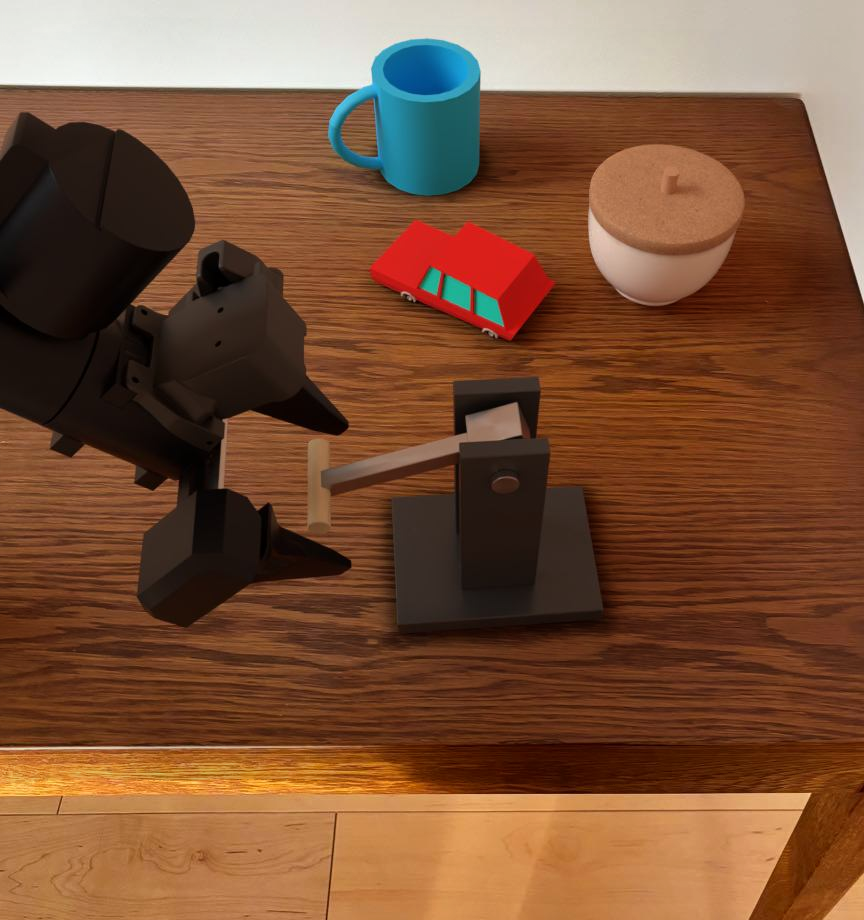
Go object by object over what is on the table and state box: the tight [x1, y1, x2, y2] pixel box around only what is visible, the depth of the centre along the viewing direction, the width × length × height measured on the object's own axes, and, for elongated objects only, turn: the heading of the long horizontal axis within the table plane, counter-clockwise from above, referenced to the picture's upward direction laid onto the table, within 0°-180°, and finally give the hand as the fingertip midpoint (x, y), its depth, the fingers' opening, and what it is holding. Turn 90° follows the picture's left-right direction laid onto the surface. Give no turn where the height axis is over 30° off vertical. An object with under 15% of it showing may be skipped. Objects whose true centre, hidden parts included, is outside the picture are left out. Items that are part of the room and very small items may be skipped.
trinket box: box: [587, 143, 746, 307], centre depth 72 cm, size 11×11×9 cm
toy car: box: [369, 219, 556, 342], centre depth 73 cm, size 6×12×4 cm, turn 61°
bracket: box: [390, 376, 604, 635], centre depth 56 cm, size 12×9×14 cm
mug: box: [327, 37, 481, 197], centre depth 79 cm, size 12×8×8 cm
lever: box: [306, 402, 531, 536], centre depth 53 cm, size 12×6×2 cm, turn 96°
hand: (345, 495), depth 55 cm, fingers open, 9 cm apart
